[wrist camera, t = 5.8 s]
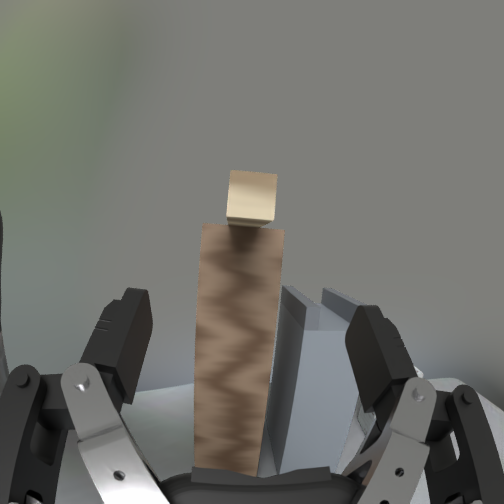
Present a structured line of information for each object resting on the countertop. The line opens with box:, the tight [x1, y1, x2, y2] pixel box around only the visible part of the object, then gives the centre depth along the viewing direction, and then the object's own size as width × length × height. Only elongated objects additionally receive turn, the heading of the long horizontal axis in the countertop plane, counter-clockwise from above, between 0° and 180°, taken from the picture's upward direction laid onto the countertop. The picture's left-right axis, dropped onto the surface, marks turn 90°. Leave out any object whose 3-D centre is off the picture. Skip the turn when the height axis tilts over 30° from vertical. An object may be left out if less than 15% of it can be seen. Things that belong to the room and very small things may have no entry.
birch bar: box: [226, 170, 277, 228], centre depth 30 cm, size 24×3×3 cm, turn 4°
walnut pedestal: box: [194, 223, 285, 477], centre depth 36 cm, size 8×15×32 cm, turn 4°
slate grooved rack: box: [267, 286, 366, 475], centre depth 37 cm, size 8×15×24 cm, turn 4°
